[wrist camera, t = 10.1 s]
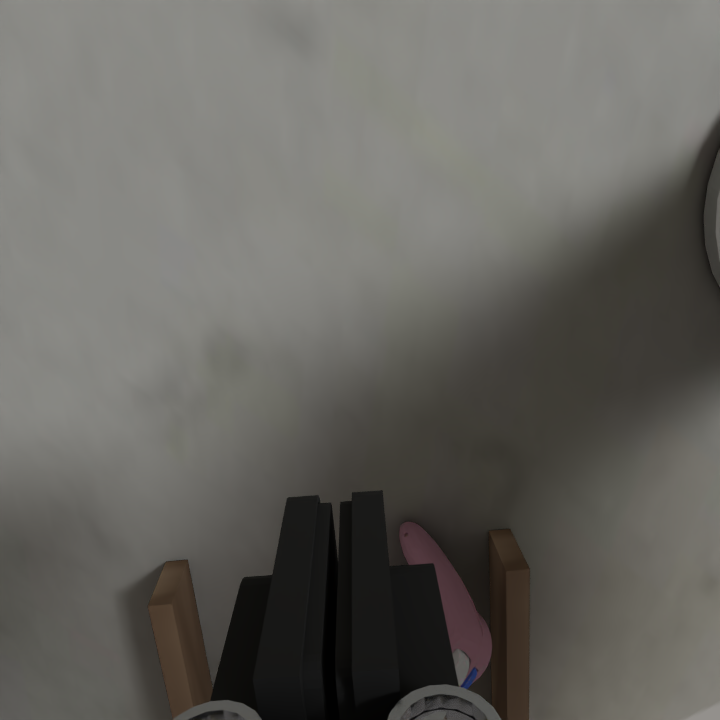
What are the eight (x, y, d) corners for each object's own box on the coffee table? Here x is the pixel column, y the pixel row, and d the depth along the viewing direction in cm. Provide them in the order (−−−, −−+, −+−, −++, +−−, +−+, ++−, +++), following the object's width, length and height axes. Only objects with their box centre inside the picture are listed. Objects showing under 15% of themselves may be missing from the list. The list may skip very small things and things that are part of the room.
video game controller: (302, 645, 32) (342, 795, 27) (244, 625, 29) (278, 789, 24) (454, 539, 31) (527, 677, 26) (410, 506, 28) (483, 654, 23)
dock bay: (510, 528, 29) (529, 569, 26) (511, 747, 33) (528, 803, 30) (165, 561, 29) (147, 606, 26) (210, 778, 33) (199, 837, 30)
